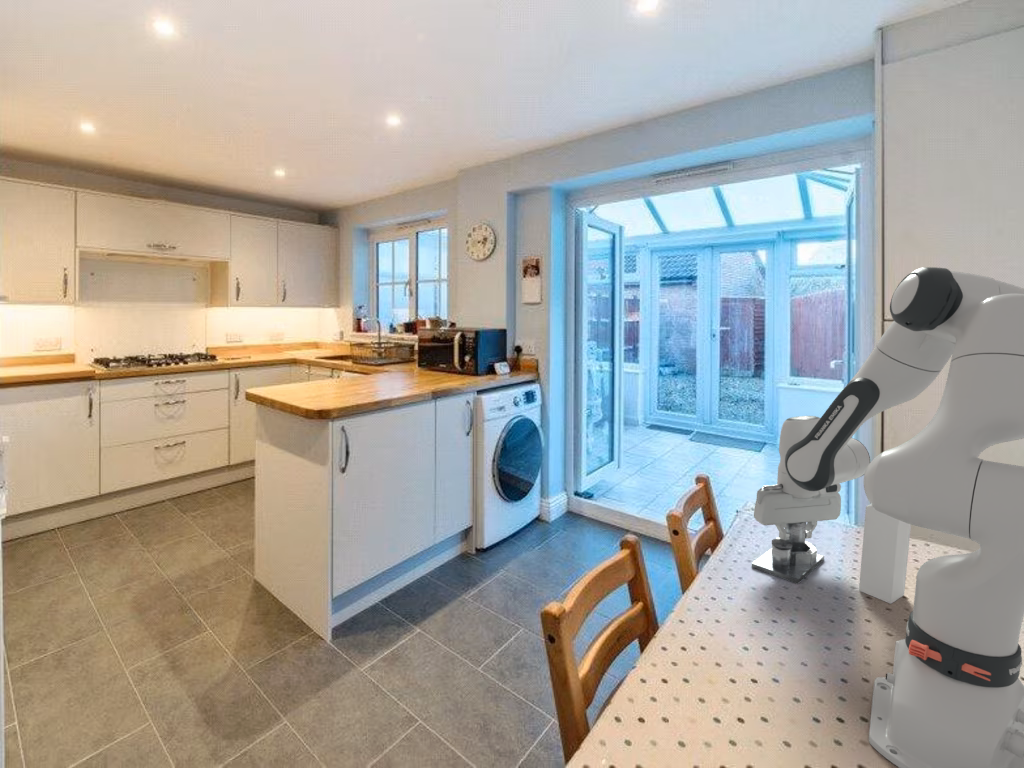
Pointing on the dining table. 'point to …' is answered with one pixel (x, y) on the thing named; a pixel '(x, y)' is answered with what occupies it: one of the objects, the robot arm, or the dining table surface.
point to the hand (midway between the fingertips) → (795, 538)
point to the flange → (788, 561)
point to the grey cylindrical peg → (797, 535)
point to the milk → (884, 556)
